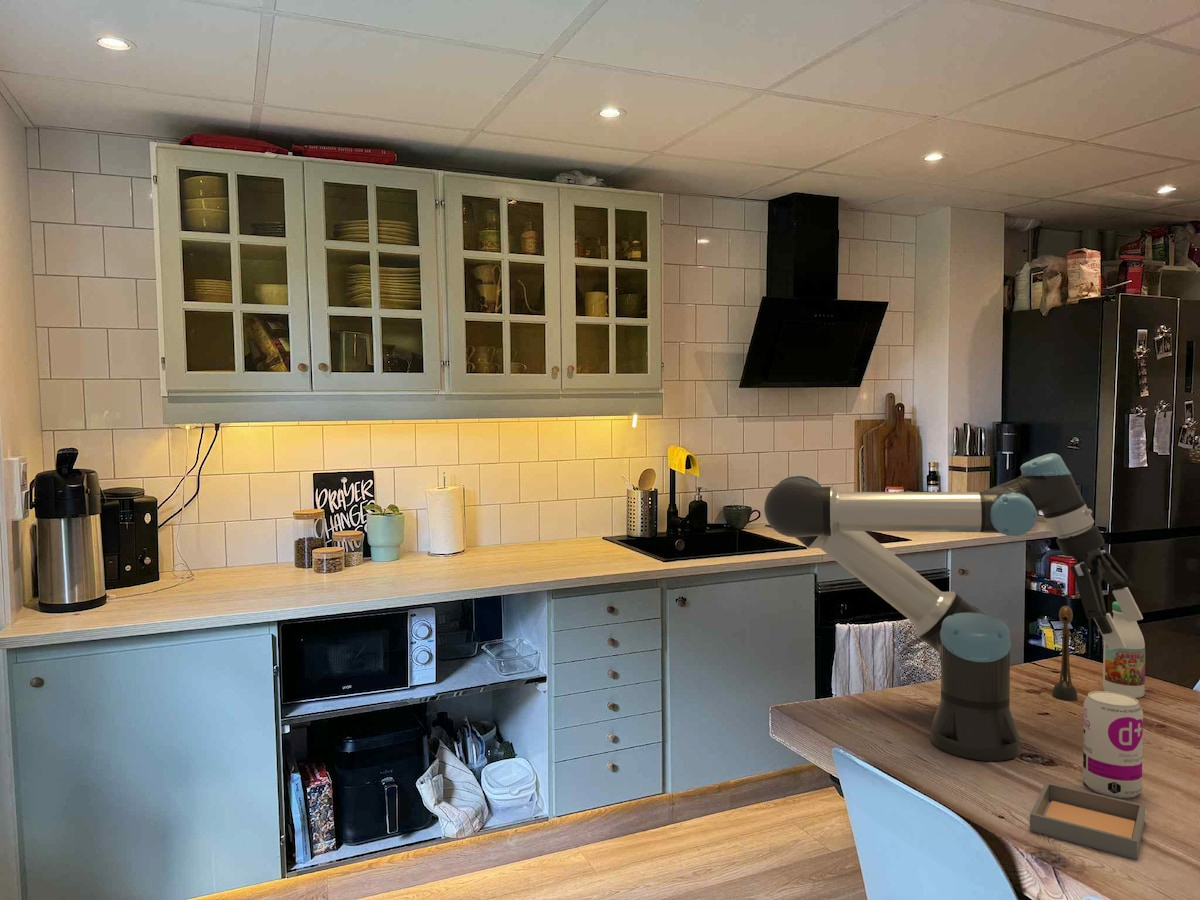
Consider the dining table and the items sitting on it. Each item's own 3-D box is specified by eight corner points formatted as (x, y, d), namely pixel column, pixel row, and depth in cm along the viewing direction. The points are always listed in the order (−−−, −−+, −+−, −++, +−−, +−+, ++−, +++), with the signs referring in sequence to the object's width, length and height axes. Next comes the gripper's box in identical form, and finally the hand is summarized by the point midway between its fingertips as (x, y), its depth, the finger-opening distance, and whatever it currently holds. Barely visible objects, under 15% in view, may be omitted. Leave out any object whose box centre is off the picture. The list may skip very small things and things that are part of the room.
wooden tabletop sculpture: (1076, 703, 172) (1077, 610, 171) (1051, 700, 175) (1052, 607, 174) (1077, 695, 177) (1078, 604, 176) (1053, 692, 179) (1054, 602, 179)
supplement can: (1153, 799, 129) (1155, 706, 128) (1101, 800, 129) (1102, 707, 128) (1121, 777, 137) (1122, 689, 136) (1072, 777, 137) (1073, 689, 136)
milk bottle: (1094, 688, 182) (1095, 599, 181) (1126, 686, 183) (1127, 598, 182) (1120, 699, 174) (1121, 607, 173) (1153, 698, 175) (1154, 606, 174)
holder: (1136, 859, 112) (1137, 841, 111) (1029, 830, 120) (1030, 814, 119) (1144, 821, 122) (1144, 805, 122) (1045, 797, 130) (1045, 781, 130)
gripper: (1076, 546, 145) (1131, 657, 143) (1112, 507, 162) (1162, 605, 160) (1034, 556, 150) (1087, 663, 148) (1074, 517, 167) (1122, 613, 165)
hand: (1126, 633), depth 154 cm, fingers open, 13 cm apart
